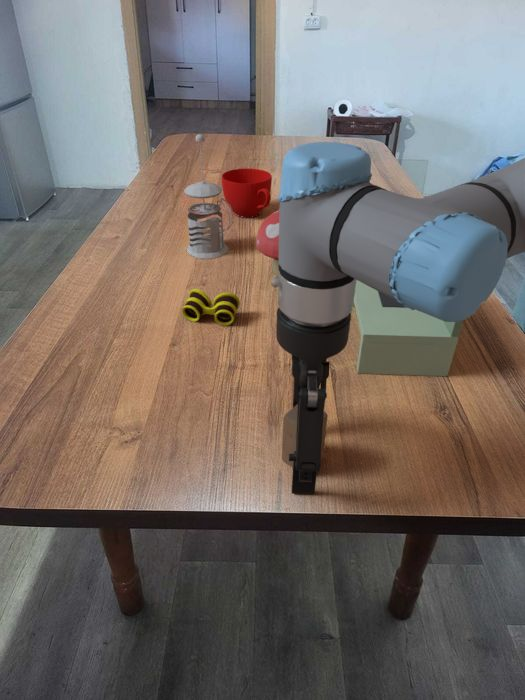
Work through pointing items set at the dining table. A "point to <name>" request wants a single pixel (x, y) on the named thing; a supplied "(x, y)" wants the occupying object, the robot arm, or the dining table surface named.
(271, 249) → the decorative mushroom
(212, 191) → the french press
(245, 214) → the ceramic cup
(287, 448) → the wooden block
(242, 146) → the dining table surface
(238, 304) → the opera glasses
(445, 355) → the shelf
